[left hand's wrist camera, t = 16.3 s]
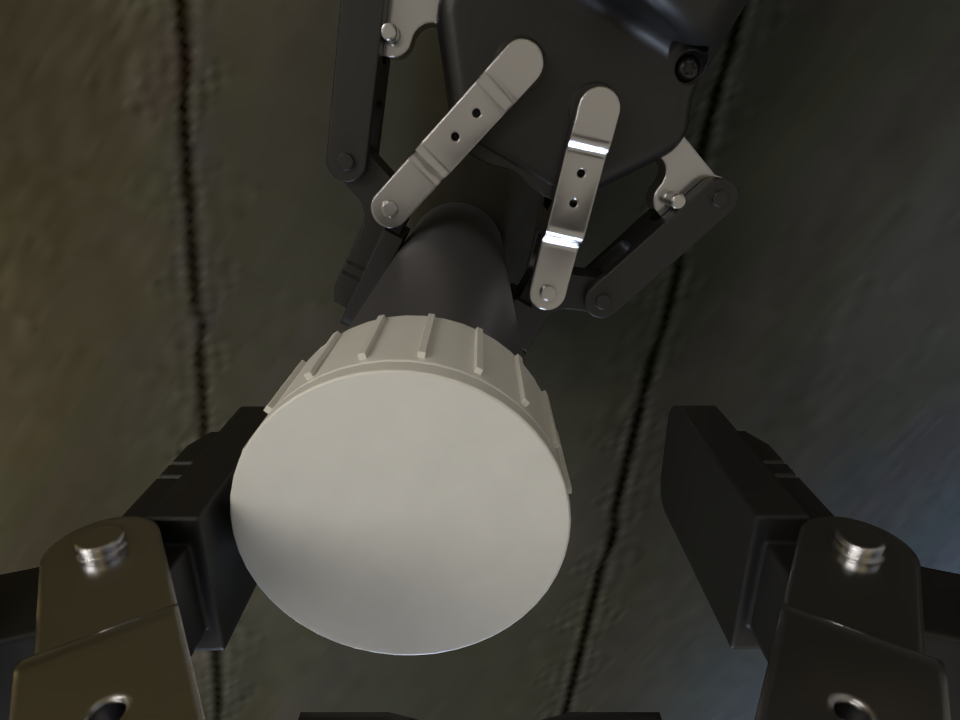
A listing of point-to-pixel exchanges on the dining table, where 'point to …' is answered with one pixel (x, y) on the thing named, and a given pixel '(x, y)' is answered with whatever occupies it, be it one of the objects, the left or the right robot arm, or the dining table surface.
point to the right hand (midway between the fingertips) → (416, 349)
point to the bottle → (450, 275)
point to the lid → (405, 489)
